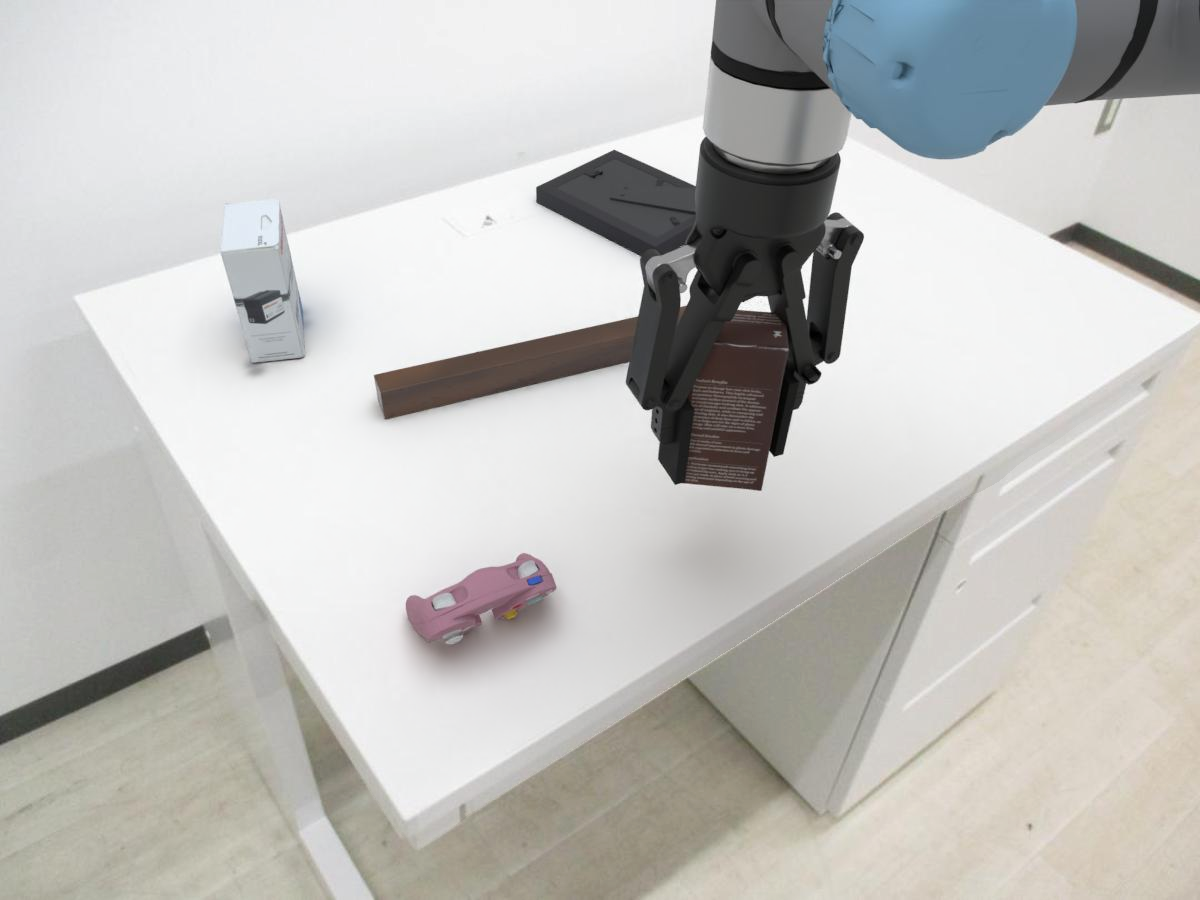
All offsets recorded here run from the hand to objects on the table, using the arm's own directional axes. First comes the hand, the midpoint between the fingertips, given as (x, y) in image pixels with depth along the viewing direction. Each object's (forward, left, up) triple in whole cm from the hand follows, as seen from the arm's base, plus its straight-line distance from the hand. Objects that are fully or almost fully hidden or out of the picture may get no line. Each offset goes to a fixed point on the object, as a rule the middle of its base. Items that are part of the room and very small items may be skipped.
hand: (721, 456), depth 66 cm
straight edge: (+23, +3, -9) cm, 25 cm away
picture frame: (+47, -15, -9) cm, 50 cm away
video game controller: (-1, +18, -9) cm, 20 cm away
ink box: (+37, +26, -9) cm, 46 cm away
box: (0, 0, -1) cm, 1 cm away
